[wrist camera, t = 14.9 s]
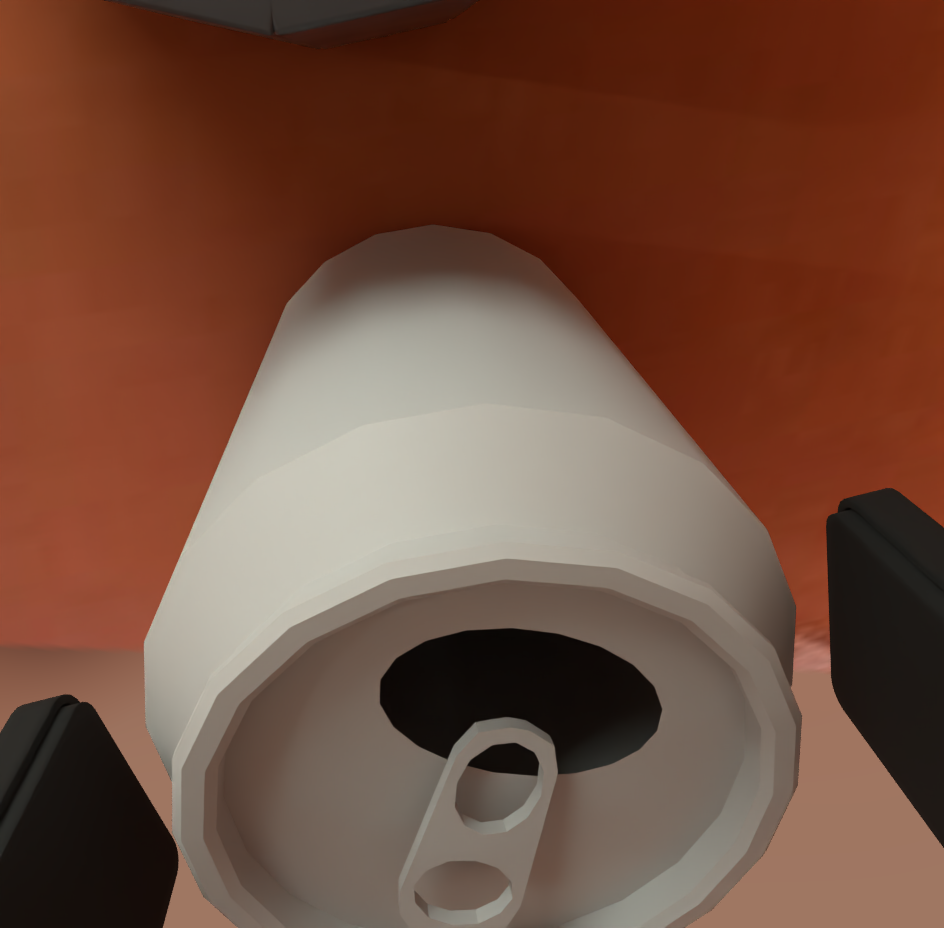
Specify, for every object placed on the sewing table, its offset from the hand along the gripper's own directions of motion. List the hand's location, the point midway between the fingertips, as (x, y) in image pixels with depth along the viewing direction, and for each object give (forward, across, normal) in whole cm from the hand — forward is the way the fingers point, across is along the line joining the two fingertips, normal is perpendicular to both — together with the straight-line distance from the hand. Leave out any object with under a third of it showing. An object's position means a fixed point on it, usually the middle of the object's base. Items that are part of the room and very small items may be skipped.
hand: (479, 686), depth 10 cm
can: (+10, 0, -1) cm, 10 cm away
